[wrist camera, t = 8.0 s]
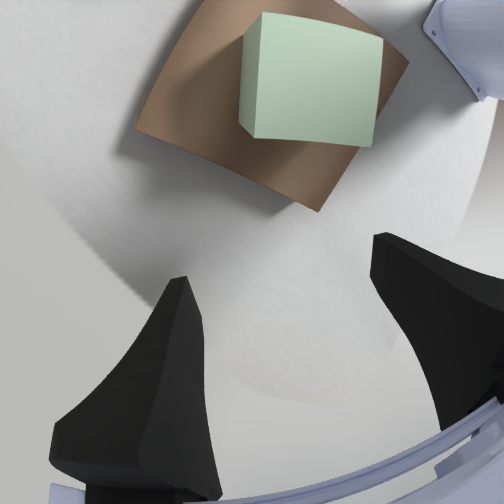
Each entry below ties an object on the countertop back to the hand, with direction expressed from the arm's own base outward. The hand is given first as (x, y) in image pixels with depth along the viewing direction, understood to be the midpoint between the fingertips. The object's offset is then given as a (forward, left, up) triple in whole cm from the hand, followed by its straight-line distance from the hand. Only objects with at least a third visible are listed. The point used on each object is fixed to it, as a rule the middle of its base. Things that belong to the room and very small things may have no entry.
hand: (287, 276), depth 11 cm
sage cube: (+2, -7, -7) cm, 10 cm away
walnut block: (+2, -7, -11) cm, 13 cm away
